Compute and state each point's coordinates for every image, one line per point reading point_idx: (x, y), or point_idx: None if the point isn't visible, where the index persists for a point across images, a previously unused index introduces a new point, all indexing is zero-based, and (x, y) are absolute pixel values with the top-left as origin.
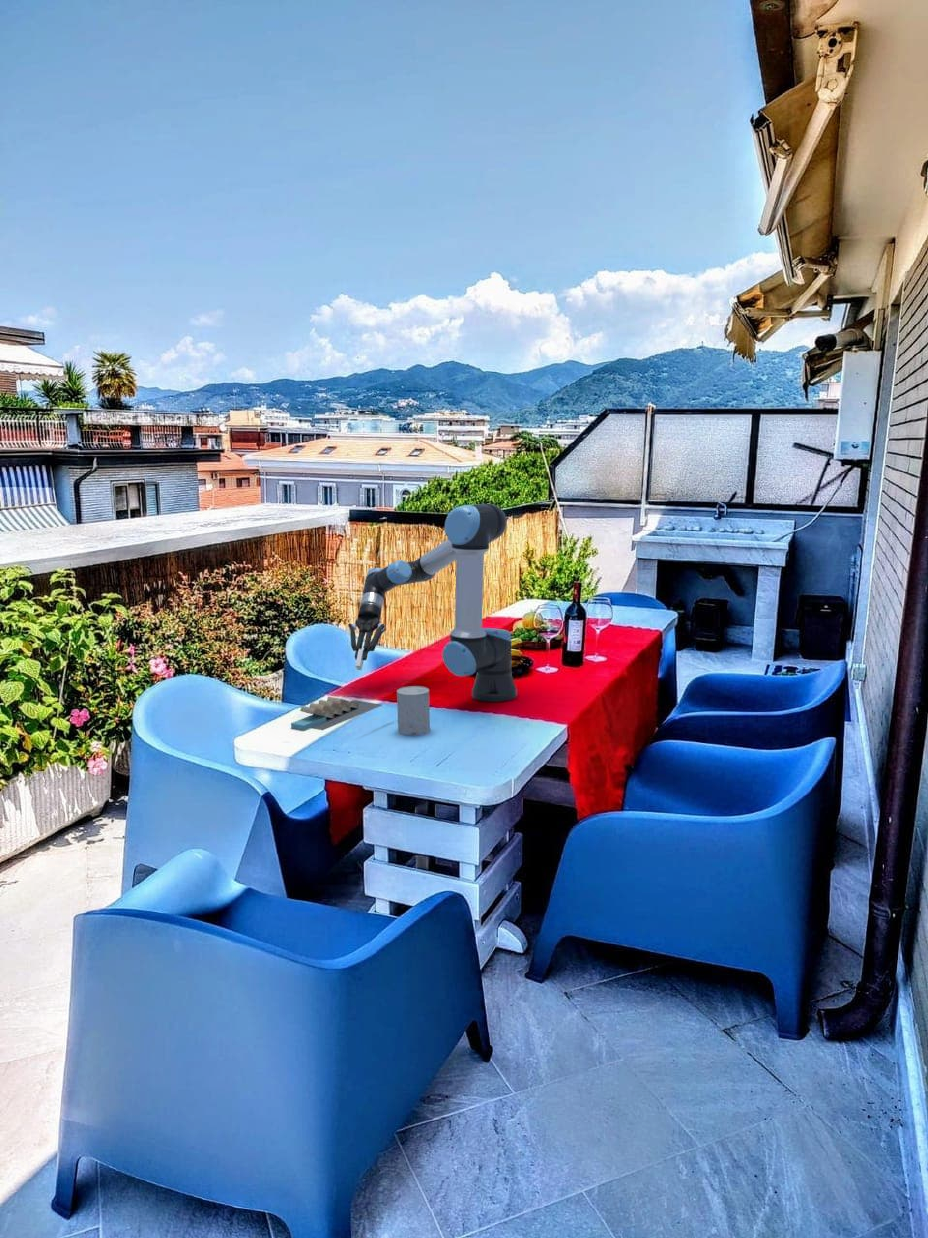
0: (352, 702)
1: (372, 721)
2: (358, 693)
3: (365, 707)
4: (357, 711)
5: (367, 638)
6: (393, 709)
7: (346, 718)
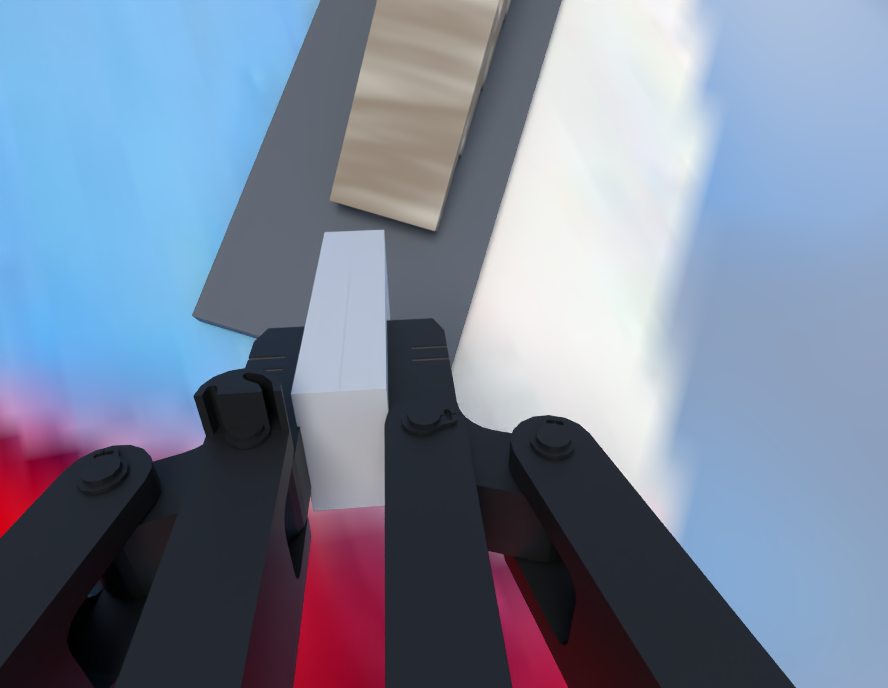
0: (349, 121)
1: (190, 49)
2: (507, 660)
3: (296, 233)
4: (319, 143)
5: (162, 682)
6: (117, 296)
7: (338, 10)
